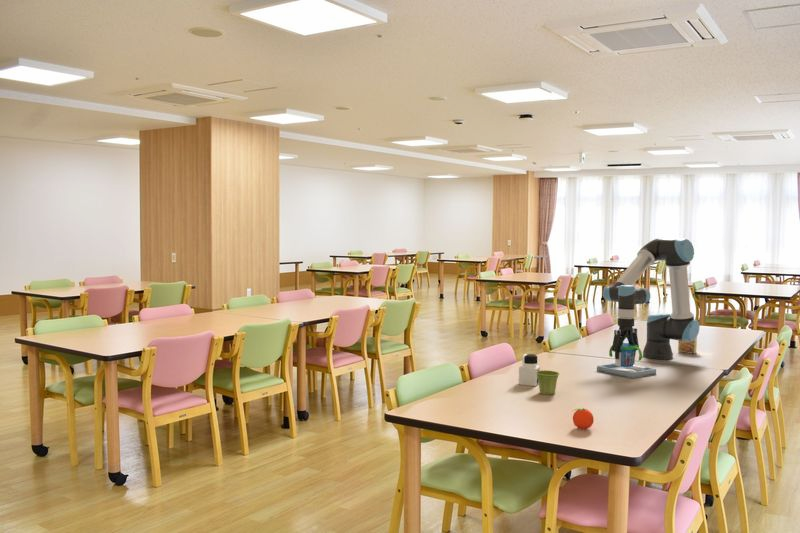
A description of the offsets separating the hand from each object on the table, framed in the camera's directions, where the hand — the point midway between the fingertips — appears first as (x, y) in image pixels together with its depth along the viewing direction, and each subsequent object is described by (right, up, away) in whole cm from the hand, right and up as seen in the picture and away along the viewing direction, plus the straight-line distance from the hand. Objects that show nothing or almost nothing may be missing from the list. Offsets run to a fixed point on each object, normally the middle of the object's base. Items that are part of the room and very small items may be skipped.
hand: (625, 364), depth 325 cm
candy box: (+53, -1, +56) cm, 77 cm away
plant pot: (-46, -6, -41) cm, 62 cm away
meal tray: (+1, -4, +1) cm, 4 cm away
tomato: (-45, -9, -92) cm, 103 cm away
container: (-50, -5, -24) cm, 56 cm away
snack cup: (0, -1, 0) cm, 1 cm away
